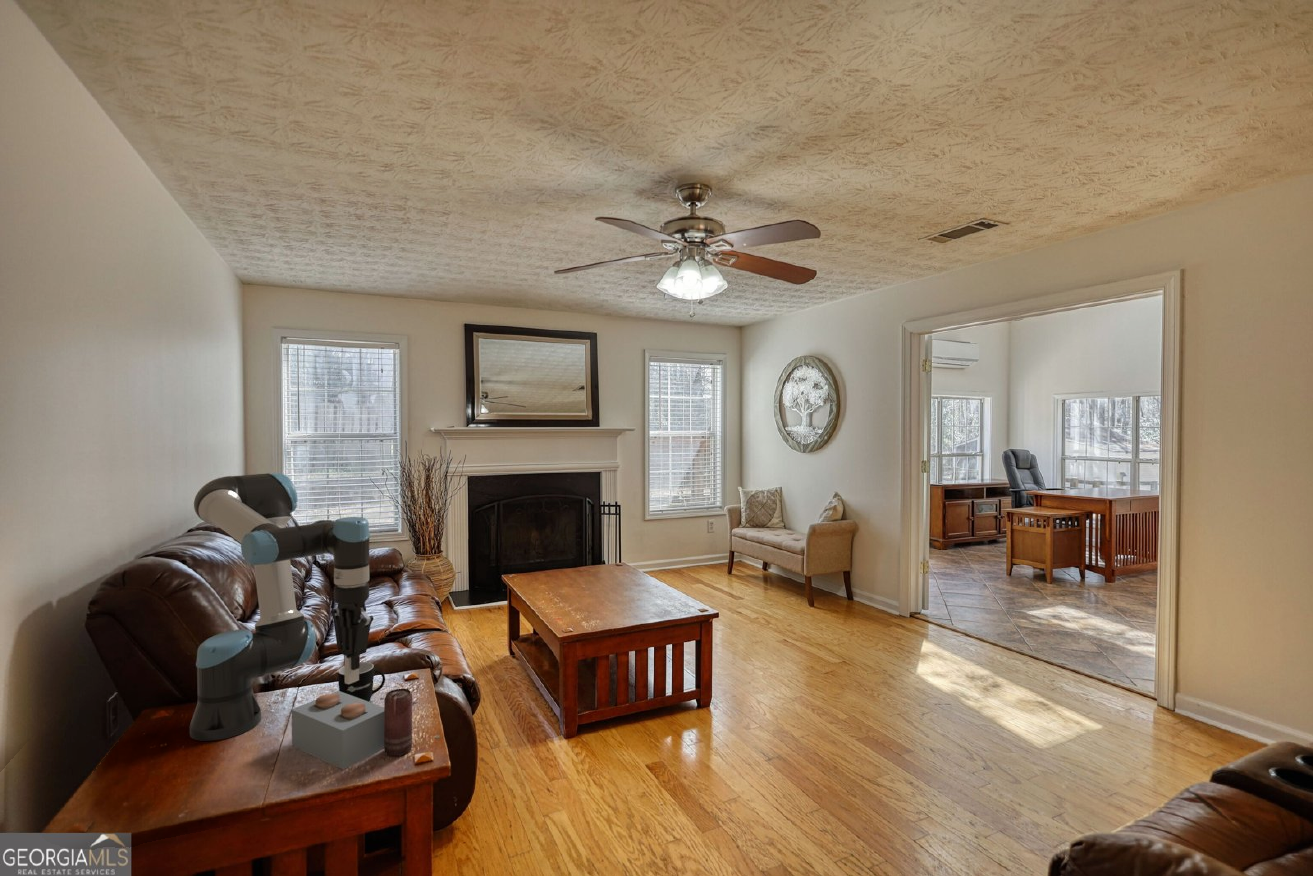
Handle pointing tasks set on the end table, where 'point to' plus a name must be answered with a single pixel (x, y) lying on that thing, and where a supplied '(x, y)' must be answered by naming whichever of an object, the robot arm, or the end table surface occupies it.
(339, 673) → the mug
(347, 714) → the peg
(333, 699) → the peg
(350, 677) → the robot arm
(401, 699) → the can
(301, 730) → the socket block
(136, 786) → the end table surface
